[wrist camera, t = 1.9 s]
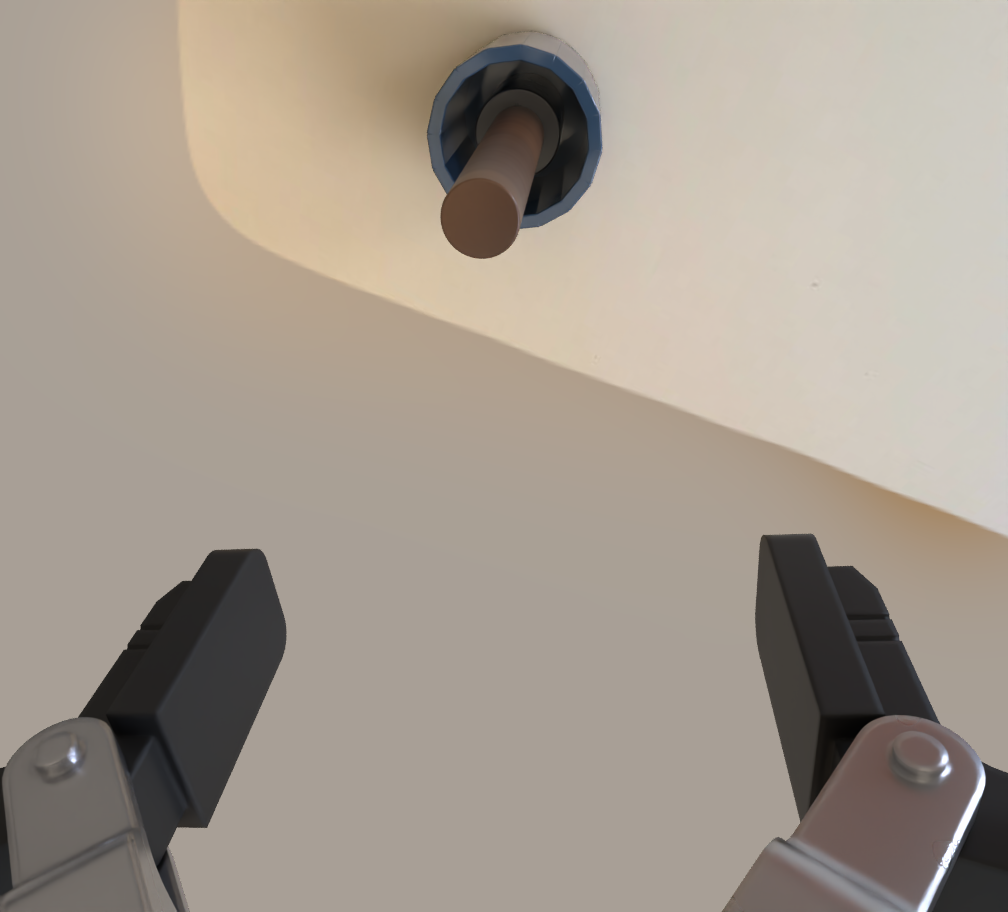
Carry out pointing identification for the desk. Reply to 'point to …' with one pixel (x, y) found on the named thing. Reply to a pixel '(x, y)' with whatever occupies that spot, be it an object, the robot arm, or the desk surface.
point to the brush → (503, 165)
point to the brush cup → (475, 86)
